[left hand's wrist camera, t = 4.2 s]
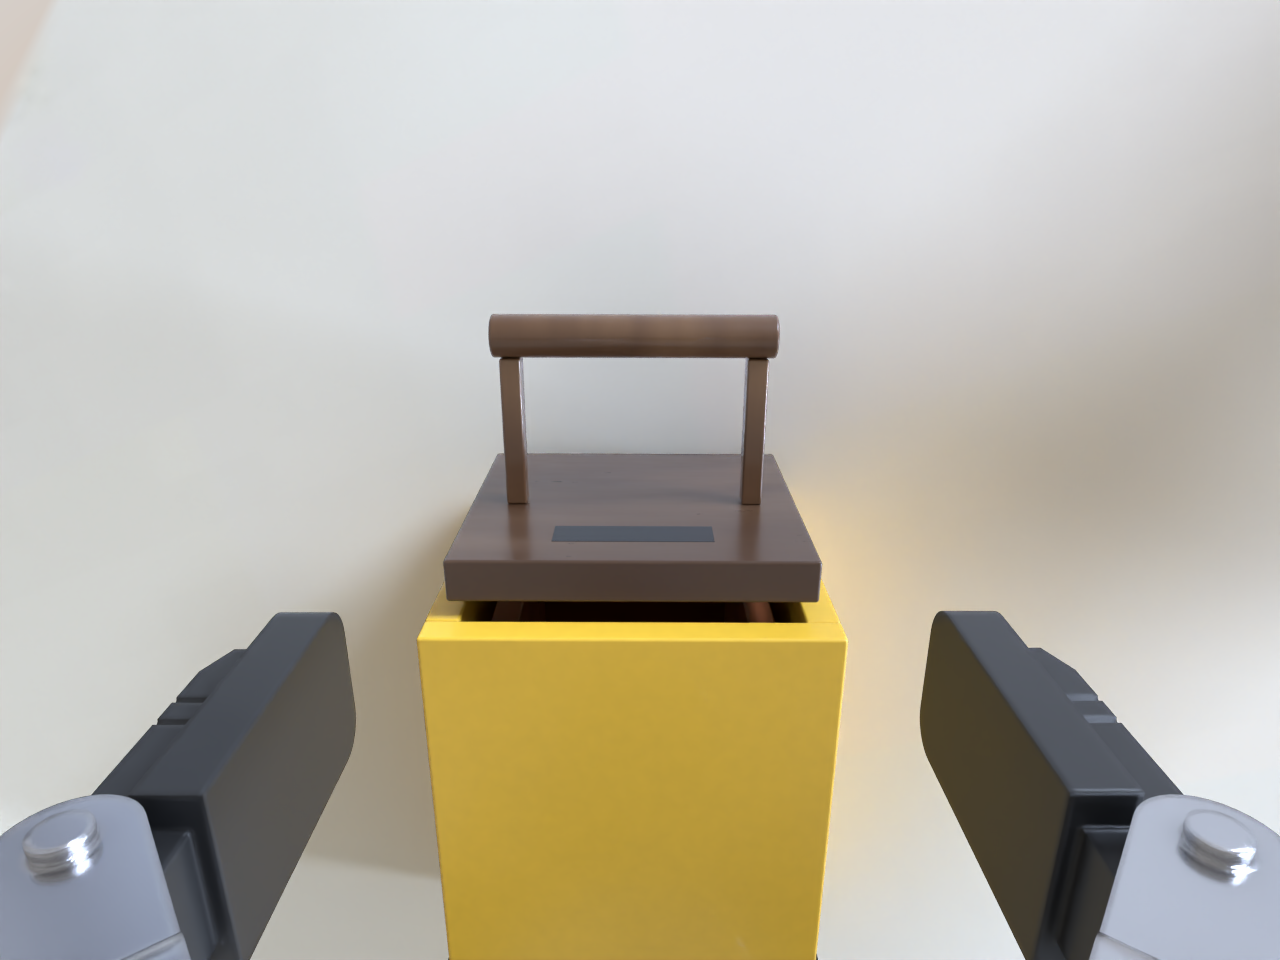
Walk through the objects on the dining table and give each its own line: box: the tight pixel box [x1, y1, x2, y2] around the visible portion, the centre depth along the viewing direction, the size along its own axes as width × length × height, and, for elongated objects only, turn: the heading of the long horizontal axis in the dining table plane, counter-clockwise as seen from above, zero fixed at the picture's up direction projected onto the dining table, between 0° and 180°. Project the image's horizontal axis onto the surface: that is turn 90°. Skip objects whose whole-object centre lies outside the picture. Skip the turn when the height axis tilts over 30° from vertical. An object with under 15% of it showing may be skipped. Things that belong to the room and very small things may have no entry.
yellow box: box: [417, 579, 848, 960], centre depth 30 cm, size 20×11×11 cm, turn 0°
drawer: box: [443, 314, 822, 623], centre depth 28 cm, size 24×10×9 cm, turn 0°
